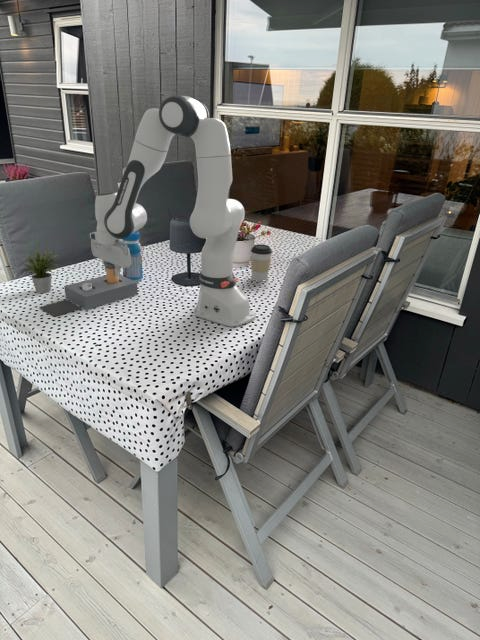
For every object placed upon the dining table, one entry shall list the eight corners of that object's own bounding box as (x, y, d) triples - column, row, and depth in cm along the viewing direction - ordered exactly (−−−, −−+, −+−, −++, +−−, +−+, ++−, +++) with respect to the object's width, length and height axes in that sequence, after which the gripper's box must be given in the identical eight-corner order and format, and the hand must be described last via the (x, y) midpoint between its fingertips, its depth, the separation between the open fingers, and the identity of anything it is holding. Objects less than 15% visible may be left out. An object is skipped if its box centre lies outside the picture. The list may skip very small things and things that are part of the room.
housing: (116, 284, 181) (115, 272, 179) (137, 294, 173) (137, 282, 171) (65, 298, 166) (64, 285, 164) (86, 310, 158) (85, 296, 156)
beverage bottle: (131, 284, 183) (129, 235, 174) (118, 278, 187) (115, 231, 179) (147, 279, 189) (145, 232, 180) (134, 274, 193) (131, 228, 185)
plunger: (89, 295, 167) (88, 281, 165) (95, 298, 165) (94, 284, 163) (81, 298, 165) (79, 284, 162) (86, 301, 163) (85, 286, 160)
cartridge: (122, 293, 173) (120, 263, 168) (112, 296, 170) (110, 266, 165) (115, 289, 176) (113, 260, 171) (104, 293, 173) (102, 263, 167)
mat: (81, 309, 158) (80, 307, 158) (54, 317, 151) (54, 315, 151) (66, 300, 164) (65, 299, 164) (39, 308, 157) (39, 306, 157)
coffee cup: (270, 276, 200) (272, 243, 194) (269, 283, 192) (272, 249, 186) (249, 274, 201) (252, 242, 194) (248, 281, 193) (250, 247, 186)
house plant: (48, 301, 163) (42, 258, 156) (14, 296, 165) (7, 253, 158) (69, 287, 175) (65, 247, 168) (37, 283, 178) (31, 243, 171)
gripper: (134, 241, 160) (136, 278, 166) (101, 230, 172) (104, 264, 177) (119, 245, 155) (121, 282, 161) (86, 232, 167) (90, 268, 173)
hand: (112, 273), depth 169 cm, fingers closed on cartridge, 4 cm apart
